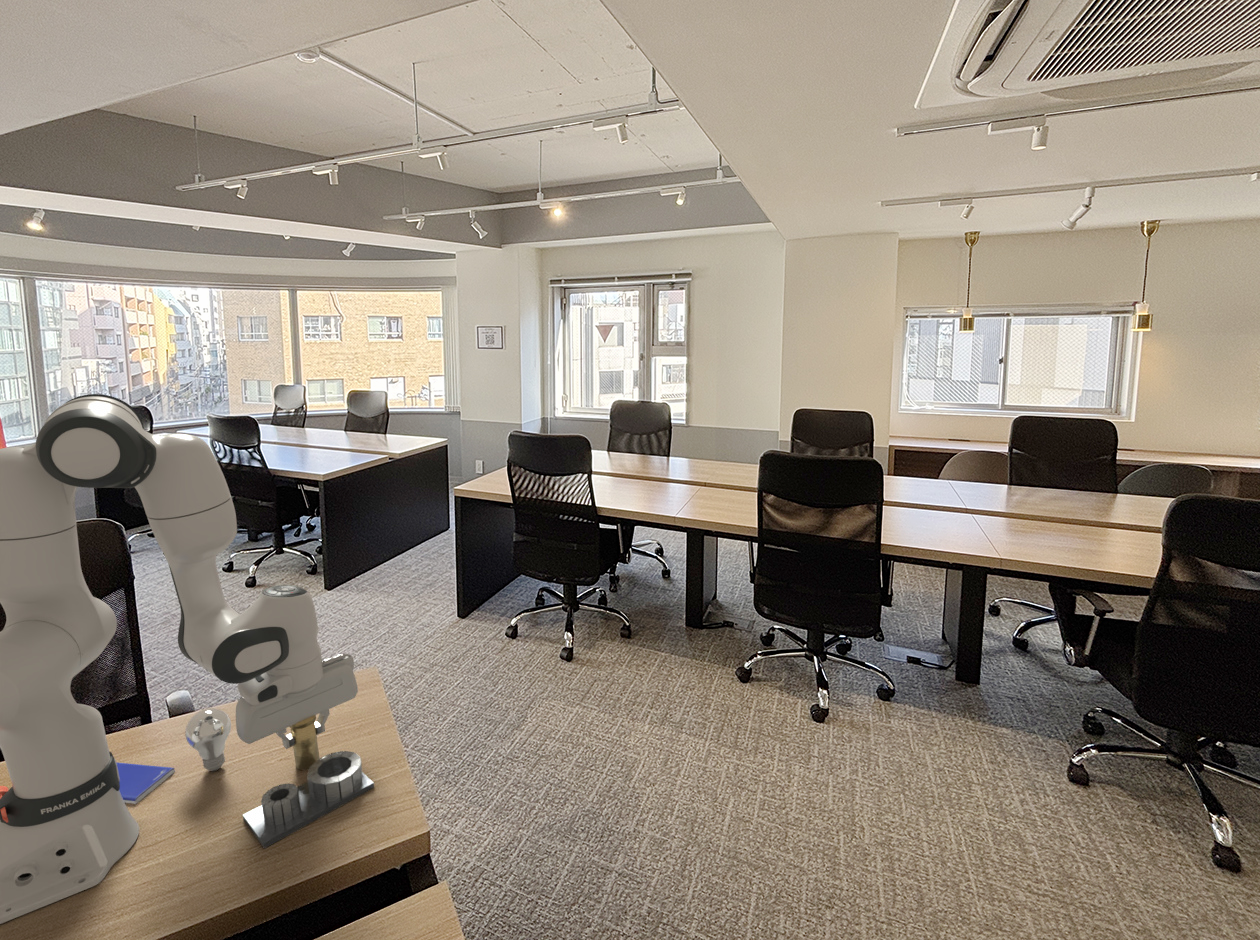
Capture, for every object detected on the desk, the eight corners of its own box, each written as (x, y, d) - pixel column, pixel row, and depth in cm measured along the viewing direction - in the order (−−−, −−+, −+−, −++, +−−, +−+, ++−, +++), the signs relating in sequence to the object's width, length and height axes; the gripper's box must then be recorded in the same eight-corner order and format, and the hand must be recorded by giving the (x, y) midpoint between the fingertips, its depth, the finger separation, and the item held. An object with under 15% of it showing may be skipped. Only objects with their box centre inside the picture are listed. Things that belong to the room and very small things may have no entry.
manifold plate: (264, 848, 100) (260, 824, 99) (243, 819, 106) (239, 796, 105) (374, 787, 113) (371, 765, 112) (350, 764, 119) (347, 743, 118)
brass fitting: (300, 774, 117) (293, 726, 114) (289, 763, 120) (283, 716, 117) (325, 762, 120) (319, 714, 118) (315, 751, 123) (309, 705, 121)
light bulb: (216, 784, 114) (205, 725, 112) (183, 779, 116) (172, 720, 113) (246, 759, 121) (237, 702, 118) (214, 754, 122) (205, 698, 120)
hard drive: (174, 766, 118) (114, 760, 119) (134, 798, 110) (71, 792, 111) (175, 774, 118) (116, 768, 120) (136, 806, 110) (73, 799, 112)
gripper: (344, 644, 125) (351, 707, 128) (226, 688, 110) (238, 758, 113) (360, 655, 121) (367, 720, 124) (240, 702, 106) (251, 774, 109)
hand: (304, 738), depth 119 cm, fingers closed on brass fitting, 4 cm apart
